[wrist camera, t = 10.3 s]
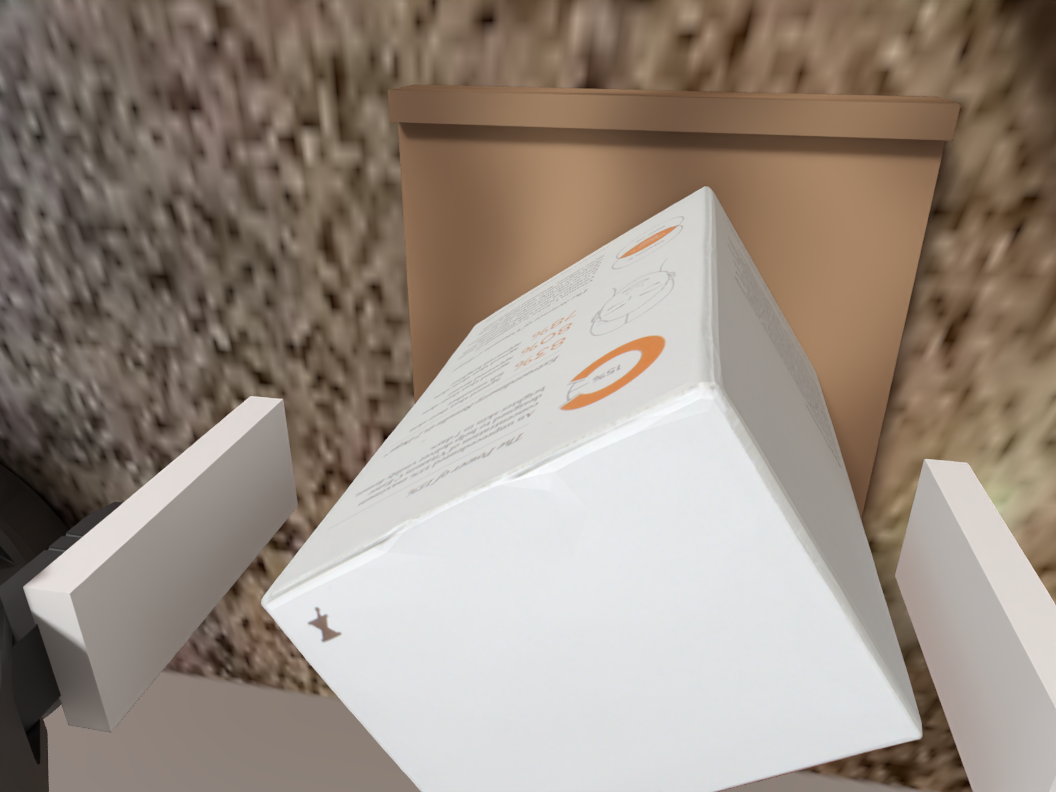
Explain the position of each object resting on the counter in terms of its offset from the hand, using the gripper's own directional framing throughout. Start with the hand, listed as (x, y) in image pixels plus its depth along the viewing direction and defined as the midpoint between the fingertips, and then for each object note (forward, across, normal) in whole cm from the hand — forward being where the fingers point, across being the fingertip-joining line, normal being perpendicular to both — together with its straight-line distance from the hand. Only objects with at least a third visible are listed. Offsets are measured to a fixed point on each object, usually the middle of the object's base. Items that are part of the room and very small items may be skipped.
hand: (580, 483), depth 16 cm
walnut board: (+9, +1, 0) cm, 9 cm away
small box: (+8, +1, 0) cm, 8 cm away
